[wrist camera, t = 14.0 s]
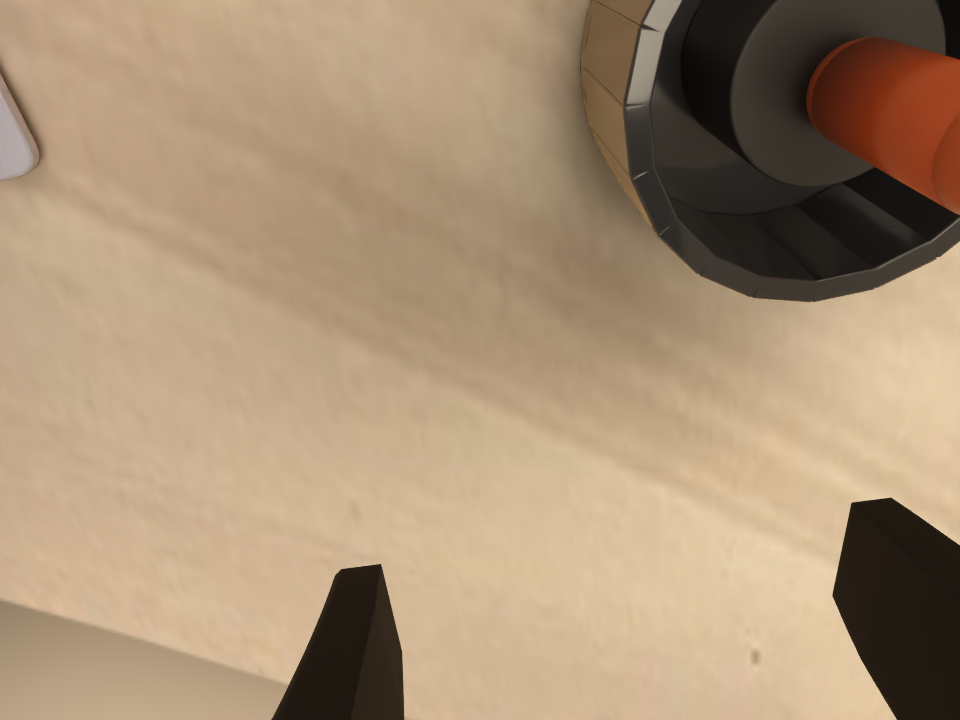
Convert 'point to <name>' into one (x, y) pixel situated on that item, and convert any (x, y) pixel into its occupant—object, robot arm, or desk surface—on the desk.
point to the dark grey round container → (741, 175)
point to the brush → (829, 90)
